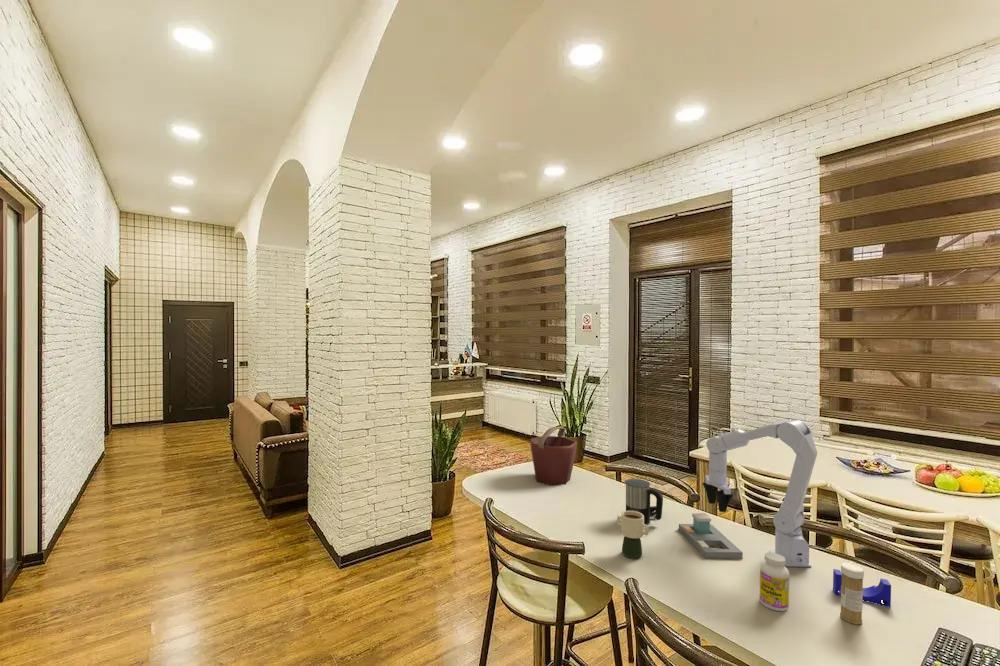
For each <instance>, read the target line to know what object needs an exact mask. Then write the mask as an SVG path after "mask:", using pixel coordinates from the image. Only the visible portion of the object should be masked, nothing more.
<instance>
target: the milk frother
mask: <svg viewBox="0 0 1000 666" xmlns="http://www.w3.org/2000/svg"><path fill="white" fill-rule="evenodd" d="M624 483H625V511H636V512H639V513H641V514H643V515H644V524H645V525H648V526H649V524H651V520H650V519H651V518H652V517H654V516H655V520H657V521H660V520H661V519H662V515H663V505H664V498H663V497H664V496H663V494H662V492H661V491H660V490H658V488H653V487H650V485H651V483H650V482H649V481H647V480H646V479H641V478H629V479H626V480H624ZM651 495H652V496H654V497H655V499H656V503H655V506H654V505H651Z"/></svg>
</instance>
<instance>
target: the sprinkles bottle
mask: <svg viewBox="0 0 1000 666" xmlns="http://www.w3.org/2000/svg"><path fill="white" fill-rule="evenodd" d="M840 571H841V573H842V585H841V596H840V615H839V616H840V618H841V619H843V620H844V621H845V622H848V623H849V624H852V623H853V625H861V624H863V619H862V618H863V616H862V615H863V614H862V613H863V605H864V604H863V602H864V601H863V588H864V587H863V585H864V584H863V583H864V582H863V581H864V578H865V570H864V569H863V568H862V567H861V566H859V565H857V564H854V563H848V562H842V563H841V564H840Z"/></svg>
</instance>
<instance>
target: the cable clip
mask: <svg viewBox="0 0 1000 666" xmlns="http://www.w3.org/2000/svg"><path fill="white" fill-rule="evenodd" d="M832 570H833V574H832V575H833V576H832V591H833V590H834V591H833V593H834V595H835V596H838V595H839V597H841V596H840V595H841V585H842V573H841V569H836V568H833V569H832ZM838 591H839V592H838ZM863 600H864V601H863V602H865V601H869V602H873V603H872V604H874V603H877V604H876V605H878V604H880V605H879V606H883V605H884V607H887V606H889V607H888V608H891V604H892V603H891V601H892V584H891V583H890V581H889V580H888V579H885V578H880V581H879V583H878V585H872V586H871V585H870V586H869V587H863ZM881 600H883V603H884V604H882V603H881ZM869 602H868V603H869Z"/></svg>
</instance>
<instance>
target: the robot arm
mask: <svg viewBox="0 0 1000 666" xmlns="http://www.w3.org/2000/svg"><path fill="white" fill-rule="evenodd" d="M730 430H731V431H730V432H726V433H723V432H721V433H718V435H715V436H712V437H710V438H708V439H707V440H706V448H707V450H708V451H709V453H708V475H707V474H706V475H705V477H704V481H705V482H702V485H703V488H704V491H705V493H706V497H707V502H708V504H711V505H713V504H714V505H715V504H716V501H717V507H718V512H720V513H723V512H724V513H726V512H727V509H728V506H729V503H730V501H731V500H732V498H733V497H734V493H733V492H732V488H730V487H729V484H728V482H727V475H728V473H727V468H728V467H727V466H728V465H727V462H728V460H727V456H728V455H727V453H728V451H731V450H734V449H739V448H743V447H746V446H748V444H749V442H750V441H753V440H754V441H755V440H758V439H762V438H766V437H771V438H774V439H776V440H777V439H780V441H782V442H783V443H784V444H786V445H787V446H788V447H790V448H791V450H793V452H794V454H795V455H796V456H795V459H794V463H793V467H792V470H791V474H790V477H789V480H788V481H789V482H788V484H787V487H786V490H785V491H786V492H785V495H784V499H783V501H782V503H781V505H780V506H779V508H778V511H777V513H775V514H774V515H773V516H772V517H773V518H772V522H773V525H774V528H775V531H774V532H775V533H774V536H775V538H774V540H775V541H774V544H775V545H774V547H775V548H774V550H771V549H770V550H768V553H776V554H779V555H781V556H783V557H784V558H785V565H784V566H785V567H798V568H799V567H803V568H804V567H805V568H807V567H808V568H809V567H810V568H811V567H812V564H811V563H810V545H809V543H808V541H806V539H805V538H804V535H803V531H802V530H803V529H802V527H801V526H803V525H804V523H805V520H806V518H805V514H804V511H805V506H804V502H805V499H806V494H807V491H808V488H809V484H810V481H811V478H812V474H813V469H814V467H815V463H816V460H817V459H816V458H817V455H818V451H817V450H818V449H817V447H816V444H815V442H814V441H815V440H814V438H813V434H812V430H811V429H810V427H809V426H808V425H807V424H806V423H805V422H804V421H802V420H800V419H793V420H790V421H787V420H786V421H780V422H773V423H769V424H767V425H764V426H760V427H756V428H754V429H750V430H748V431H745V430H742V429H737V428H734V429H730ZM719 490H720V491H719Z"/></svg>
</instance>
